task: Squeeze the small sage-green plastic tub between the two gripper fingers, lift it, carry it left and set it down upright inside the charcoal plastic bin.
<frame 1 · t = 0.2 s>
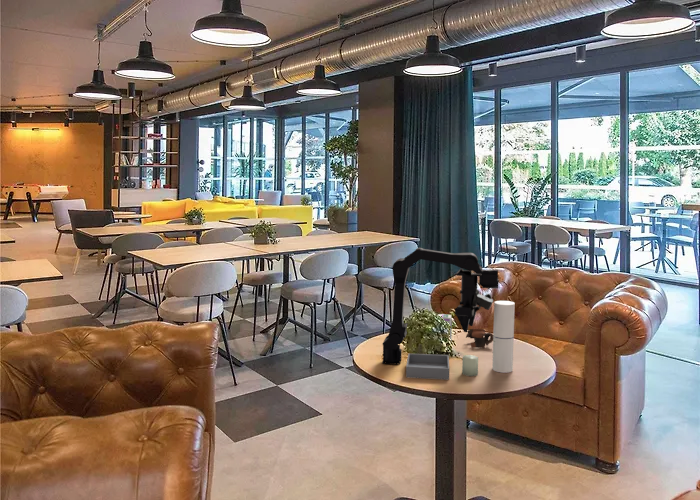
hand: (468, 329, 209), 14 cm above the table, tool pointing down, fingers open, 9 cm apart
pottery mug: (479, 346, 237), on the table
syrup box: (443, 350, 230), on the table
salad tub: (469, 373, 203), on the table
bin: (427, 371, 206), on the table
cylindrical container: (502, 369, 208), on the table
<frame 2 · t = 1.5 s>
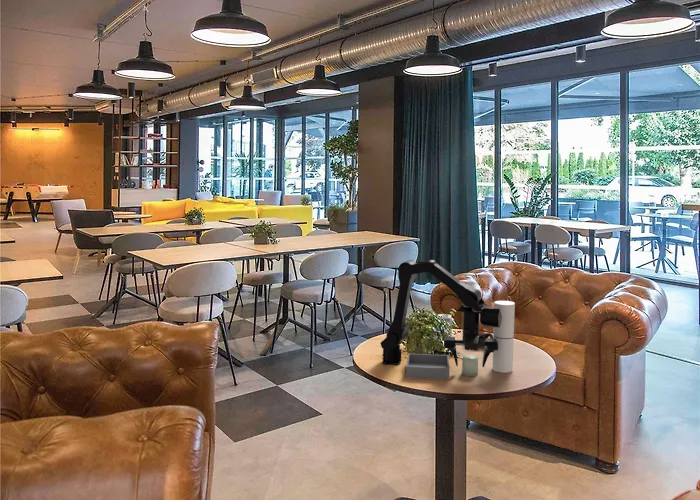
hand: (469, 366, 203), 3 cm above the table, tool pointing down, fingers open, 9 cm apart
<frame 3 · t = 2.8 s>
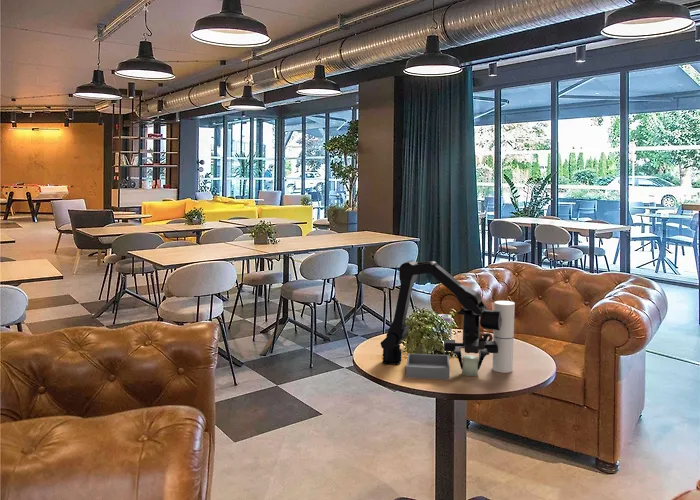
hand: (470, 369, 203), 2 cm above the table, tool pointing down, fingers closed on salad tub, 5 cm apart
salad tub: (469, 373, 203), on the table, touching gripper
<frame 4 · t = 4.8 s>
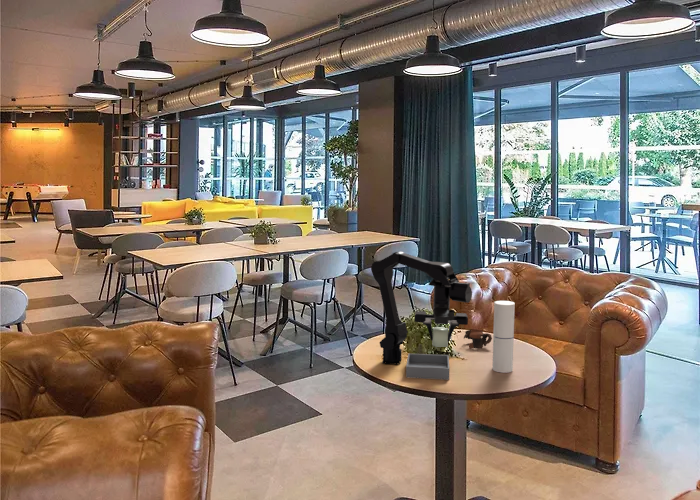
hand: (440, 340, 204), 12 cm above the table, tool pointing down, fingers closed on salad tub, 5 cm apart
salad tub: (439, 345, 204), point 10 cm above the table, touching gripper
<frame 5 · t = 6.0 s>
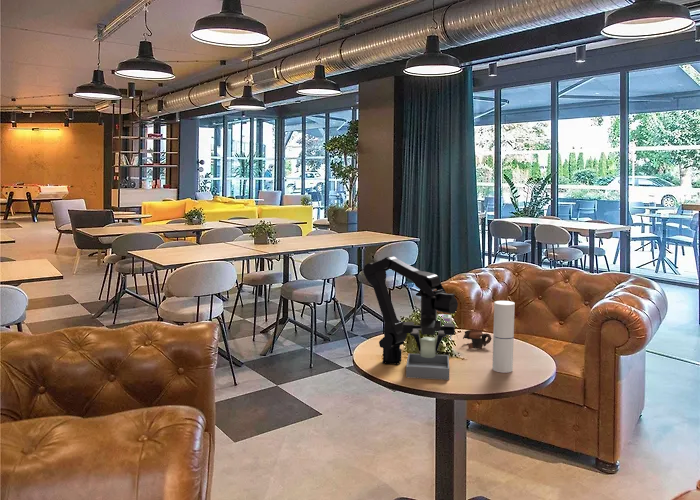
hand: (428, 351, 205), 8 cm above the table, tool pointing down, fingers closed on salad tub, 5 cm apart
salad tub: (427, 355, 205), point 6 cm above the table, touching gripper
when the fingers open (4 cm above the table, at t = 7.1 s): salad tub drops 1 cm, resting on bin.
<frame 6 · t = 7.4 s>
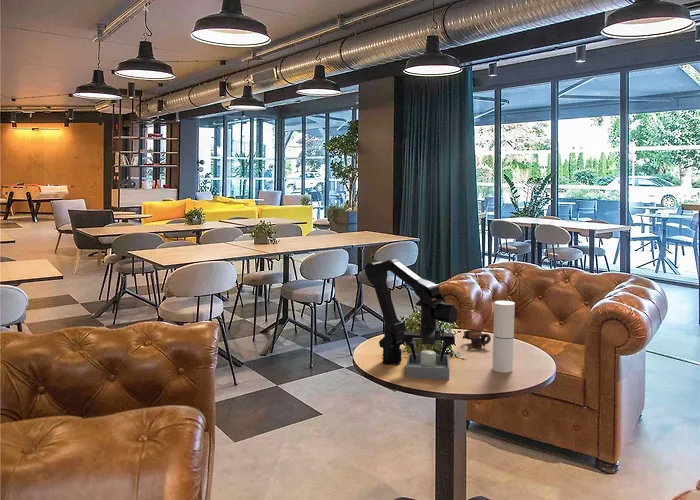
hand: (428, 360, 205), 4 cm above the table, tool pointing down, fingers open, 9 cm apart
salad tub: (427, 368, 206), point 1 cm above the table, touching bin
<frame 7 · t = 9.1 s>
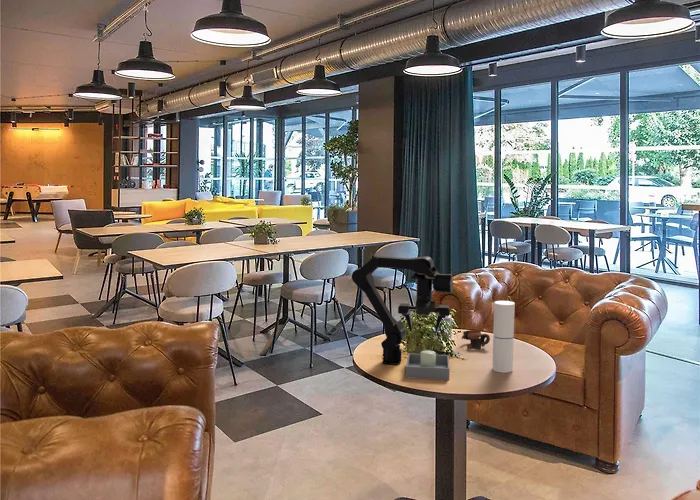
hand: (423, 331, 211), 13 cm above the table, tool pointing down, fingers open, 9 cm apart
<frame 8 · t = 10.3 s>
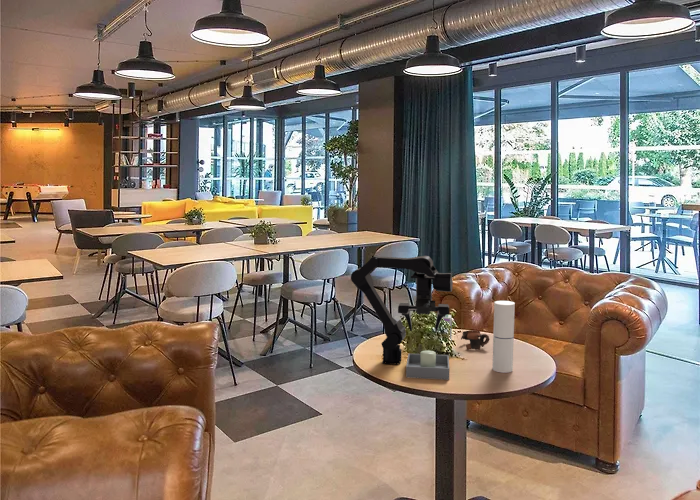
hand: (423, 331, 211), 13 cm above the table, tool pointing down, fingers open, 9 cm apart
at the end: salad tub inside the target area on the bin (0.0 cm from its centre), point 1.0 cm above the bin's base; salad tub tilted 0°; the gripper is holding nothing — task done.
